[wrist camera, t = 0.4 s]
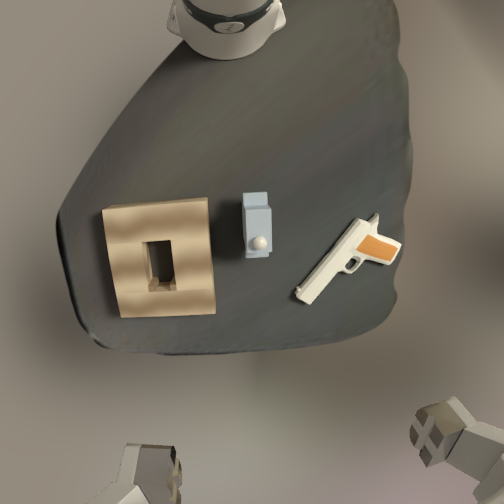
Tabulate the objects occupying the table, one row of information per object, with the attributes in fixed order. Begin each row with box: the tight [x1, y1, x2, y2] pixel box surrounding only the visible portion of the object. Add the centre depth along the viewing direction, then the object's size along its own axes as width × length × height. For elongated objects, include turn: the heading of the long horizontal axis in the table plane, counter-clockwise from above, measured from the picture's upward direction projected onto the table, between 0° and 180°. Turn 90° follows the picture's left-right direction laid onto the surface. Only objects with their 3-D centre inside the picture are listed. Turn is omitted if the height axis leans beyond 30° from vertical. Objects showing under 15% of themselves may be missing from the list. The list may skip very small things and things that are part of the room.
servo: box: [242, 192, 272, 258], centre depth 47 cm, size 10×3×9 cm, turn 2°
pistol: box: [295, 213, 401, 304], centre depth 54 cm, size 2×20×11 cm
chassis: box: [102, 197, 216, 317], centre depth 49 cm, size 18×16×4 cm
